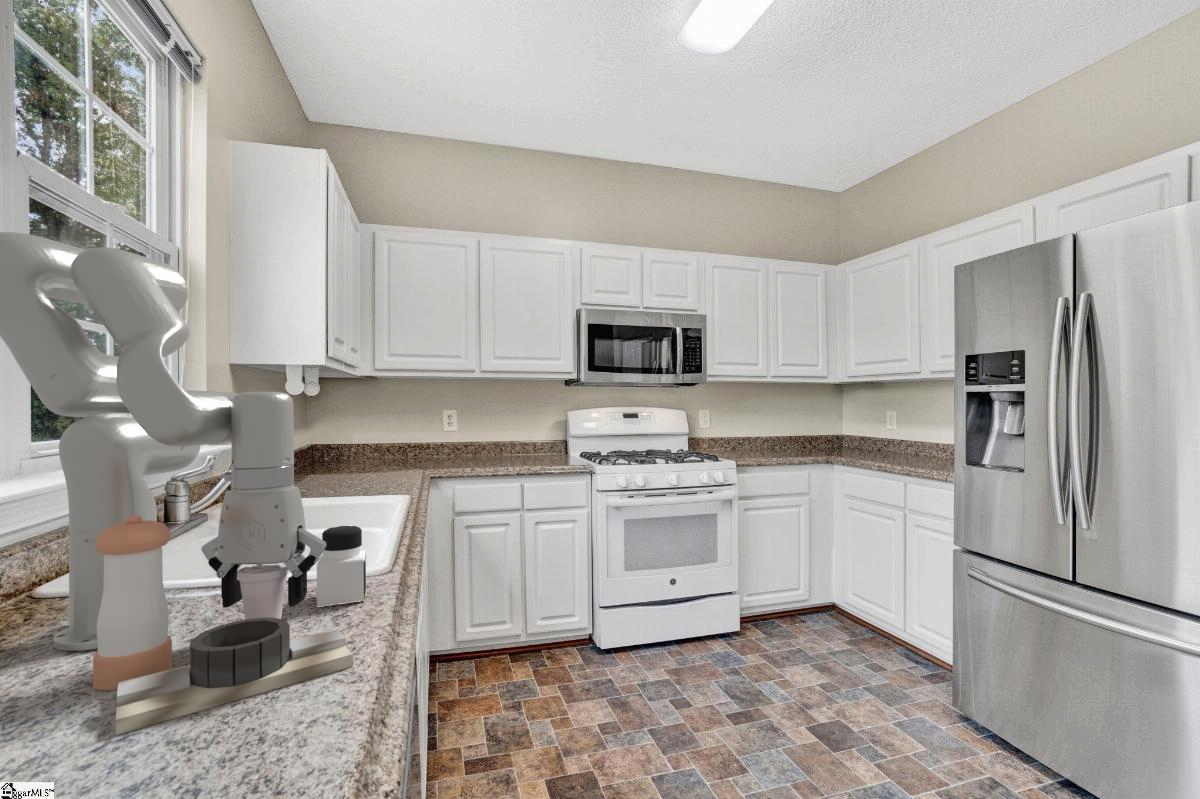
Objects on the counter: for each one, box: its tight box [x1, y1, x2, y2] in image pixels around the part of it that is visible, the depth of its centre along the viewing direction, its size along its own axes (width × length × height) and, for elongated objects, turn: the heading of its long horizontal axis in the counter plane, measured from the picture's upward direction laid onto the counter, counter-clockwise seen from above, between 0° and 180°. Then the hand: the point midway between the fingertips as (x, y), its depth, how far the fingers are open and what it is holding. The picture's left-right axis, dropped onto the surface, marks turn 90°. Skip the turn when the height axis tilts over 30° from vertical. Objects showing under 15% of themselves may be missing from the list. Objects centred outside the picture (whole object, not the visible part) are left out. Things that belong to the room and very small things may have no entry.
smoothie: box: [237, 563, 291, 620], centre depth 78 cm, size 6×6×14 cm
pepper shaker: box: [92, 515, 173, 692], centre depth 67 cm, size 7×7×19 cm
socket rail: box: [115, 617, 354, 736], centre depth 65 cm, size 22×10×6 cm, turn 130°
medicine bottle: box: [316, 524, 367, 607], centre depth 93 cm, size 7×7×12 cm
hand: (264, 603), depth 78 cm, fingers open, 8 cm apart
